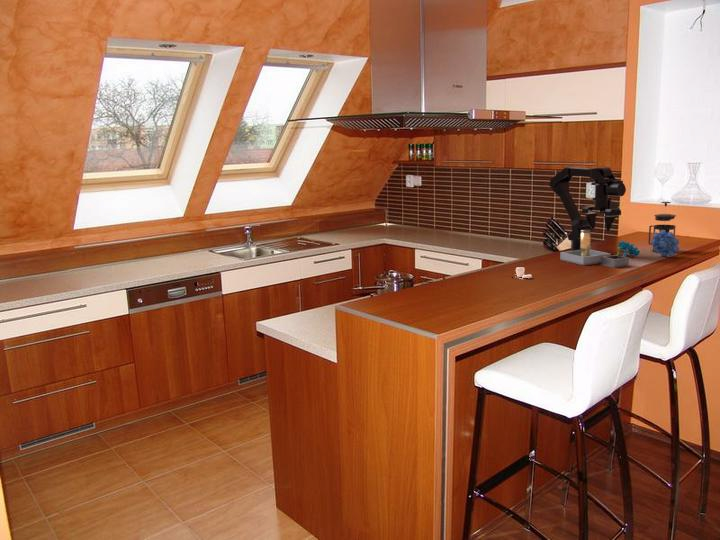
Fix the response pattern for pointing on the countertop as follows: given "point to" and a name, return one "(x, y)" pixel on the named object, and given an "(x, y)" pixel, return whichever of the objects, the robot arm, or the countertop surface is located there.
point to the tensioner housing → (615, 261)
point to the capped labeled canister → (585, 243)
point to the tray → (577, 259)
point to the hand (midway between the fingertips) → (600, 229)
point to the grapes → (665, 243)
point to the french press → (662, 227)
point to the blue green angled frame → (627, 249)
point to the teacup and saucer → (522, 273)
